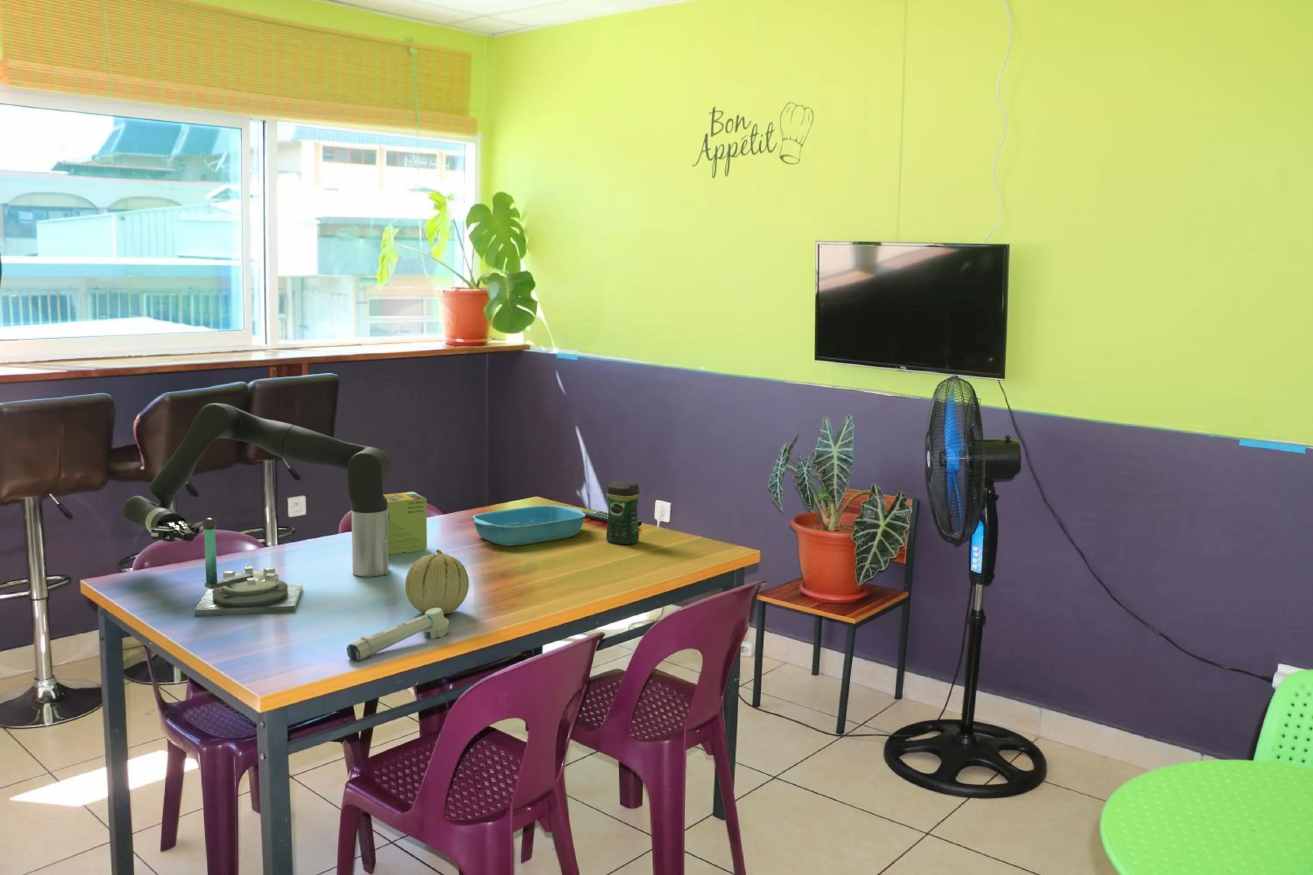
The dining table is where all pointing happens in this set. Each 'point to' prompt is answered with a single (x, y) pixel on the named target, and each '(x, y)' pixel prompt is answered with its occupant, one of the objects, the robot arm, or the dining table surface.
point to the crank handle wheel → (231, 581)
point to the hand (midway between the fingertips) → (190, 537)
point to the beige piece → (400, 634)
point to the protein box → (406, 522)
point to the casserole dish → (529, 524)
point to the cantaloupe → (437, 583)
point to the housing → (250, 602)
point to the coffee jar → (622, 512)
